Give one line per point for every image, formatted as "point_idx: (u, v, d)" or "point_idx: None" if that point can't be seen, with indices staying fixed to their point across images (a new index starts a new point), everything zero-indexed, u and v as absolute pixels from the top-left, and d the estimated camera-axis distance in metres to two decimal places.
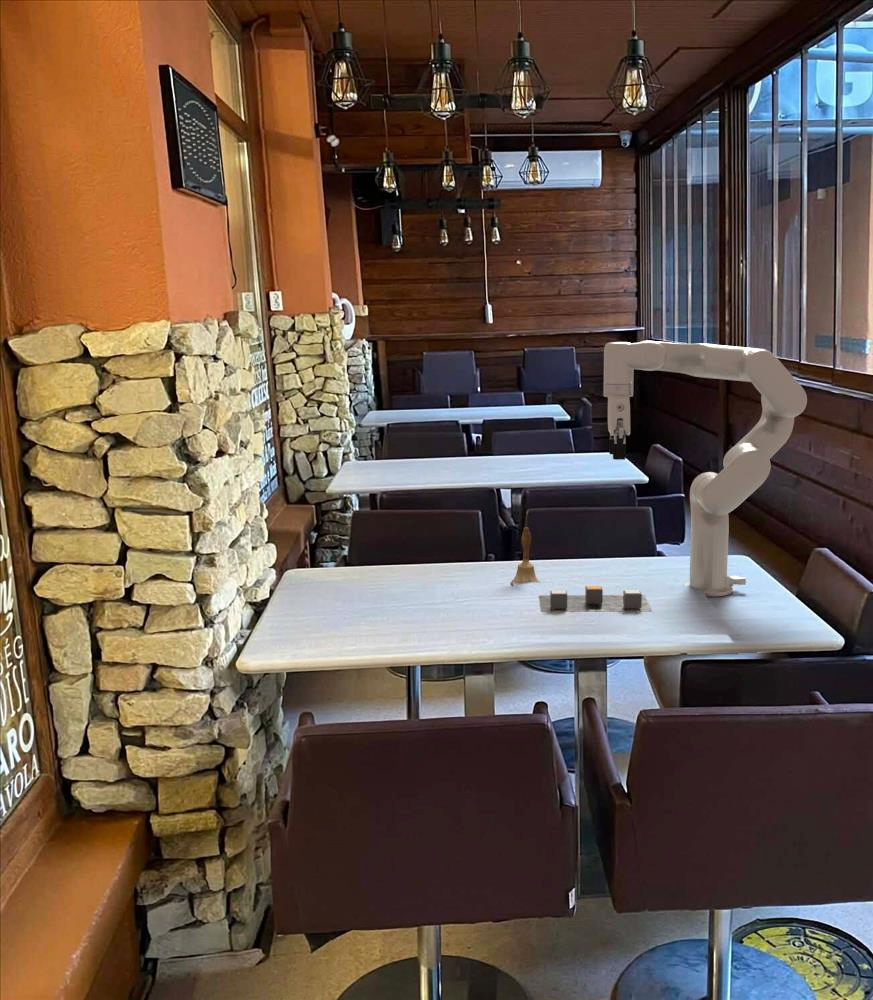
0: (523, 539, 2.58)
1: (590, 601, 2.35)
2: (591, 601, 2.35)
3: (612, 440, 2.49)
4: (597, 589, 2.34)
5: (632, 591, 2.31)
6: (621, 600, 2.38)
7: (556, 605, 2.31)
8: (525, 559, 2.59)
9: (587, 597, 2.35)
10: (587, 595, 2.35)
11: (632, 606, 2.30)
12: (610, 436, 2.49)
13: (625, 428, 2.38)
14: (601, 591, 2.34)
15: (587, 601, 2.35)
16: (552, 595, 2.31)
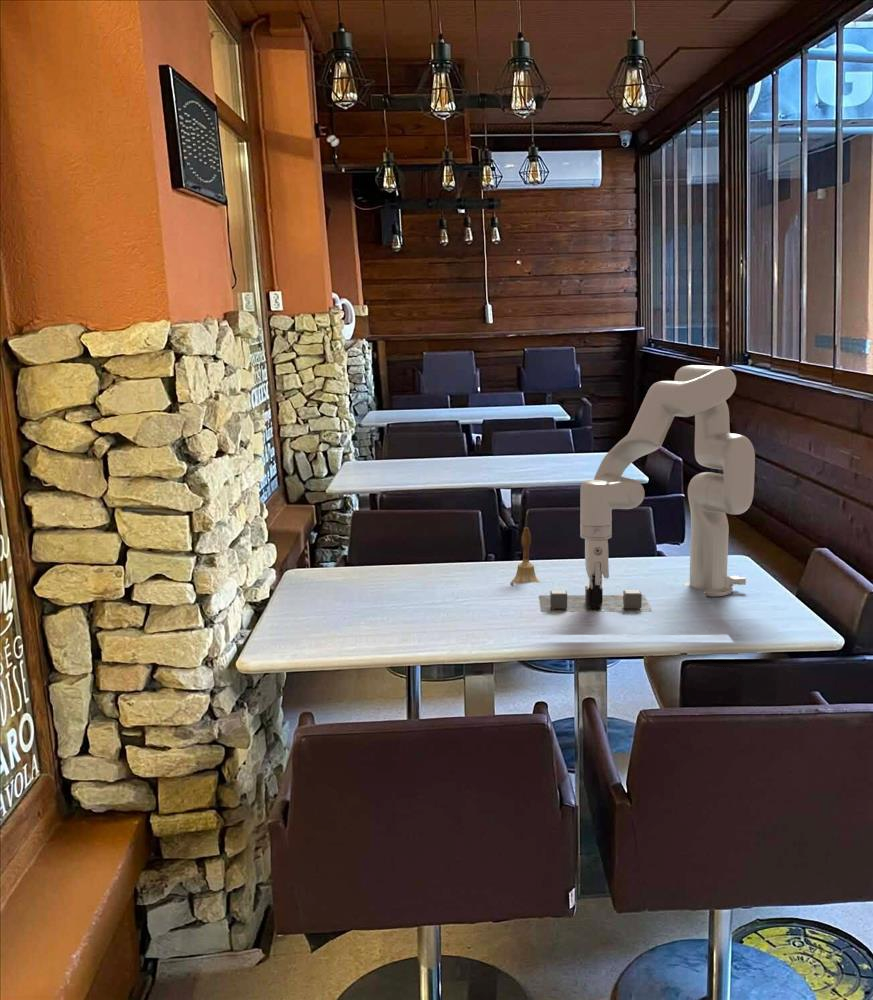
0: (523, 539, 2.58)
1: None
2: None
3: None
4: None
5: (632, 591, 2.31)
6: (621, 600, 2.38)
7: (556, 605, 2.31)
8: (525, 559, 2.59)
9: (587, 597, 2.35)
10: (587, 595, 2.35)
11: (632, 606, 2.30)
12: (589, 581, 2.33)
13: None
14: None
15: (587, 601, 2.35)
16: (552, 595, 2.31)
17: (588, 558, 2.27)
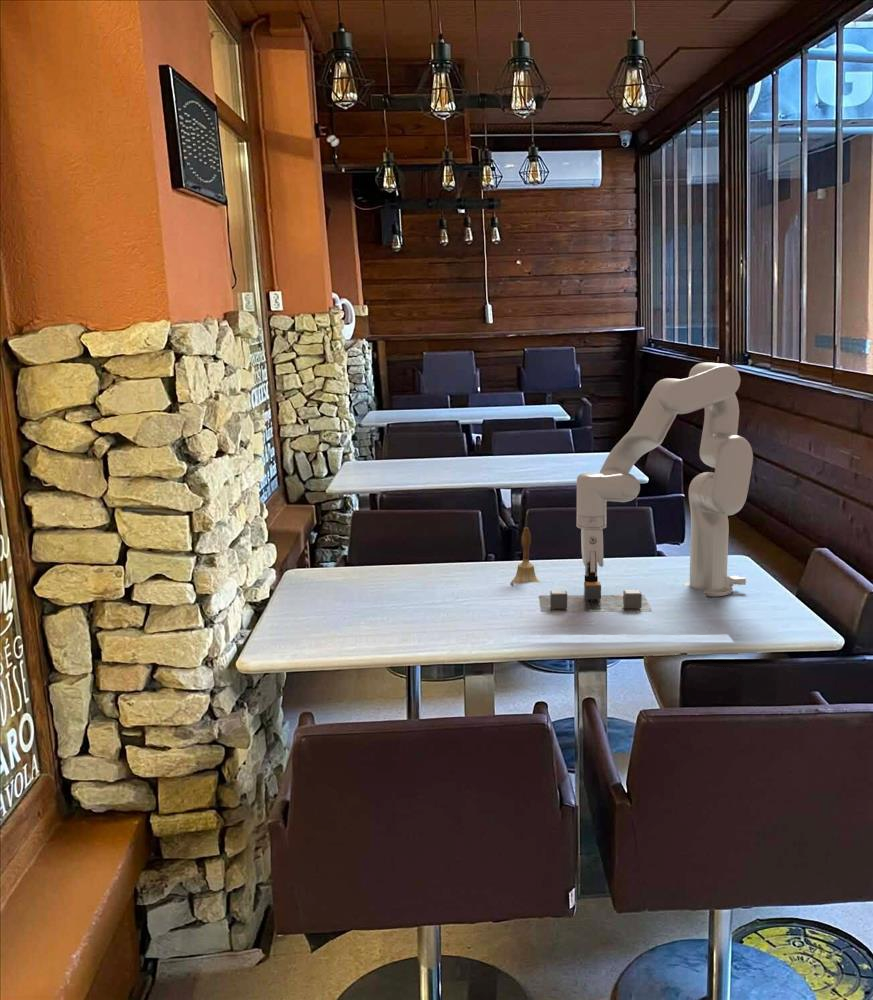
0: (523, 539, 2.58)
1: (589, 597, 2.39)
2: (590, 597, 2.39)
3: None
4: (596, 585, 2.38)
5: (632, 591, 2.31)
6: (621, 600, 2.38)
7: (556, 605, 2.31)
8: (525, 559, 2.59)
9: (586, 593, 2.38)
10: (586, 591, 2.38)
11: (632, 606, 2.30)
12: (585, 569, 2.44)
13: None
14: (599, 587, 2.38)
15: (586, 597, 2.39)
16: (552, 595, 2.31)
17: (584, 547, 2.38)
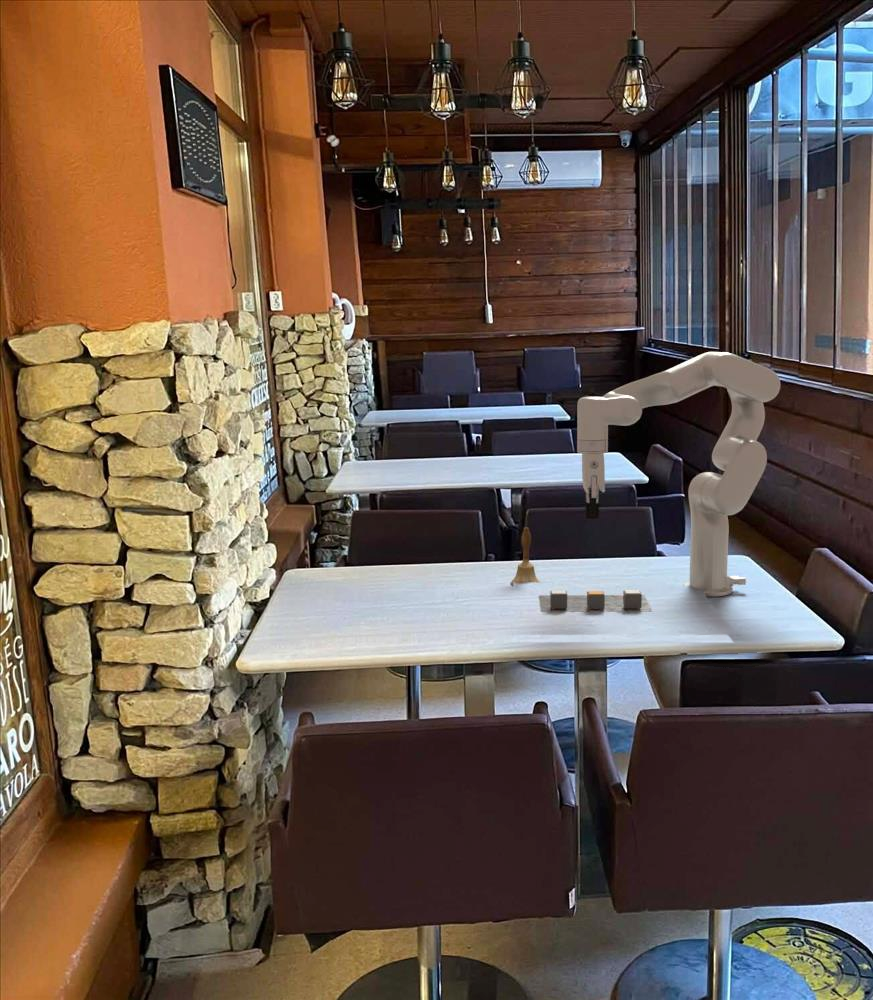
0: (523, 539, 2.58)
1: (592, 606, 2.30)
2: (593, 606, 2.30)
3: None
4: (599, 594, 2.30)
5: (632, 591, 2.31)
6: (621, 600, 2.38)
7: (556, 605, 2.31)
8: (525, 559, 2.59)
9: (589, 602, 2.30)
10: (589, 600, 2.30)
11: (632, 606, 2.30)
12: (586, 496, 2.38)
13: None
14: (603, 596, 2.30)
15: (589, 606, 2.30)
16: (552, 595, 2.31)
17: (585, 472, 2.33)
